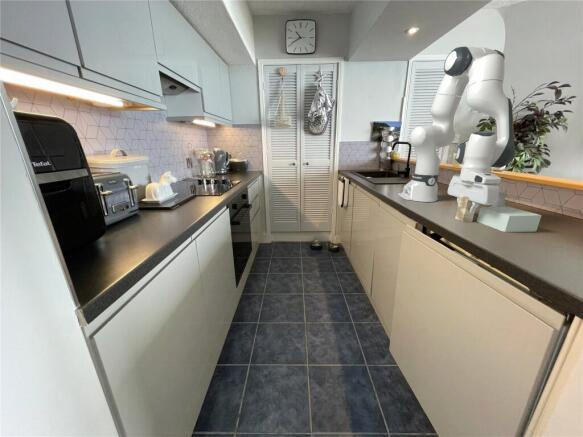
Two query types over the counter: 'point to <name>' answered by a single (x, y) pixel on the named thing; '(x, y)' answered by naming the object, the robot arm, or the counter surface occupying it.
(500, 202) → the flask
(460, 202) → the birch block
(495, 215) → the sage step
